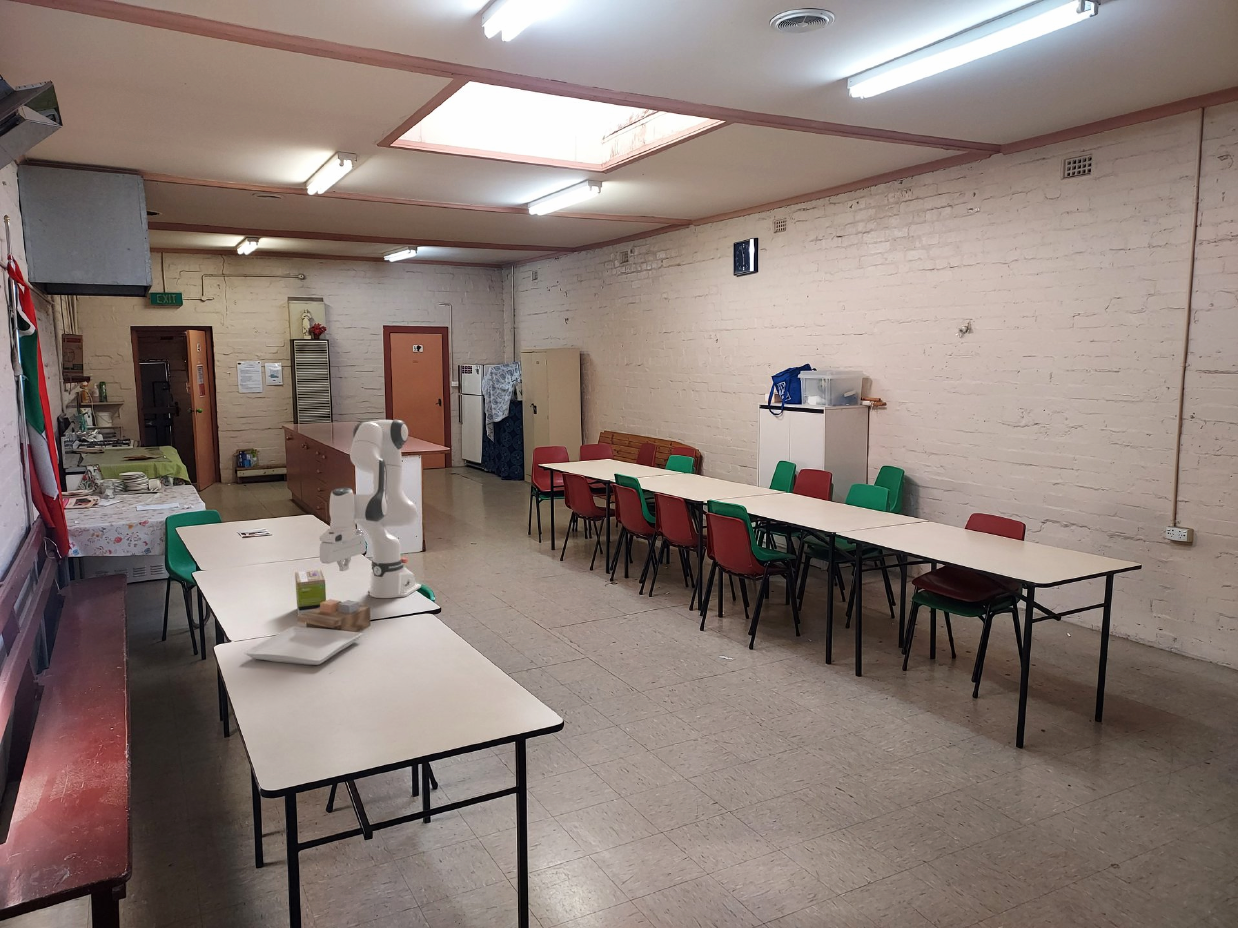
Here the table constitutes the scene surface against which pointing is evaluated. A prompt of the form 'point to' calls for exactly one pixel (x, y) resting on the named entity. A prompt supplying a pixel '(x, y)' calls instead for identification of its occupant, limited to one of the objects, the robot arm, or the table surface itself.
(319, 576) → the tea box
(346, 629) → the wooden box
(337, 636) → the square plate
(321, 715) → the table surface
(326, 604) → the tile
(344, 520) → the robot arm
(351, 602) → the tile
